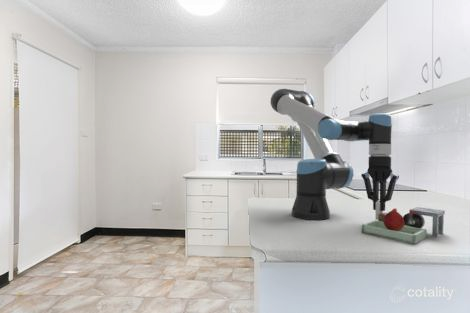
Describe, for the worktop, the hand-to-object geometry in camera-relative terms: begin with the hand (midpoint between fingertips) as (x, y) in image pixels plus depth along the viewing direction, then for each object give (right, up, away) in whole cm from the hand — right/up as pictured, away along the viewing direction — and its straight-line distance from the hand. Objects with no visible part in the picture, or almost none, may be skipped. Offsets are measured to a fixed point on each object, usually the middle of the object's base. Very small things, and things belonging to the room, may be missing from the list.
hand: (379, 219), depth 109 cm
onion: (-3, -2, -15) cm, 15 cm away
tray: (-3, -2, -15) cm, 15 cm away
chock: (+2, -2, -2) cm, 3 cm away
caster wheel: (+10, -2, -11) cm, 14 cm away
